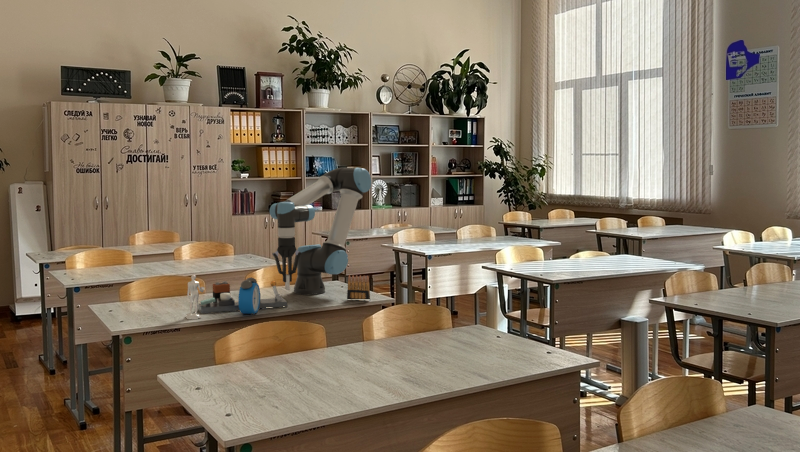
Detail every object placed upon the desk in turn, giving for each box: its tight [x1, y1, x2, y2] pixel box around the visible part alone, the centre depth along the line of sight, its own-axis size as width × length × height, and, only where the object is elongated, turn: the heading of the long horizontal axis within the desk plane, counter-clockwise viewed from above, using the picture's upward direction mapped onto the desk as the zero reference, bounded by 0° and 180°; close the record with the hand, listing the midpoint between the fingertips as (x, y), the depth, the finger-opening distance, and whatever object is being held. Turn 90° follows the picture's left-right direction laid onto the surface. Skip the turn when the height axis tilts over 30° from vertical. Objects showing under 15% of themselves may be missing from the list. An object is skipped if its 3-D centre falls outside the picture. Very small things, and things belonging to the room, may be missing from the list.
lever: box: [270, 280, 279, 299], centre depth 327 cm, size 3×3×8 cm
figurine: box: [184, 274, 205, 320], centre depth 304 cm, size 8×7×18 cm
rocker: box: [199, 297, 216, 305], centre depth 317 cm, size 6×3×1 cm, turn 111°
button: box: [220, 292, 232, 301], centre depth 320 cm, size 4×4×3 cm
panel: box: [198, 293, 288, 314], centre depth 323 cm, size 37×9×5 cm, turn 111°
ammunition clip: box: [346, 274, 371, 300], centre depth 340 cm, size 11×2×12 cm, turn 76°
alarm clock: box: [237, 277, 261, 315], centre depth 312 cm, size 13×6×15 cm, turn 176°
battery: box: [212, 280, 231, 303], centre depth 332 cm, size 4×7×10 cm, turn 121°
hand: (287, 289), depth 329 cm, fingers closed
